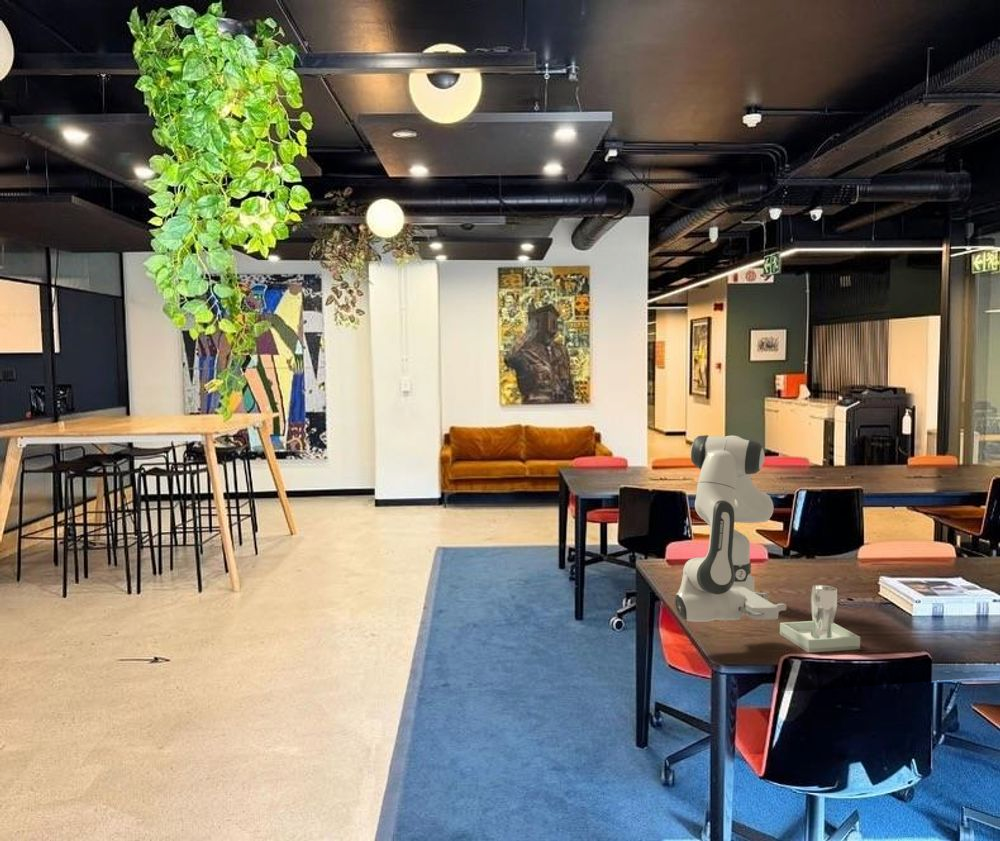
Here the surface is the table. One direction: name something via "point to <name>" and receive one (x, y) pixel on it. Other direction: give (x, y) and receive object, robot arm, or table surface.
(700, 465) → the robot arm
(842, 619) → the table surface
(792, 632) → the light gray opaque tray
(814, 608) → the beer glass
